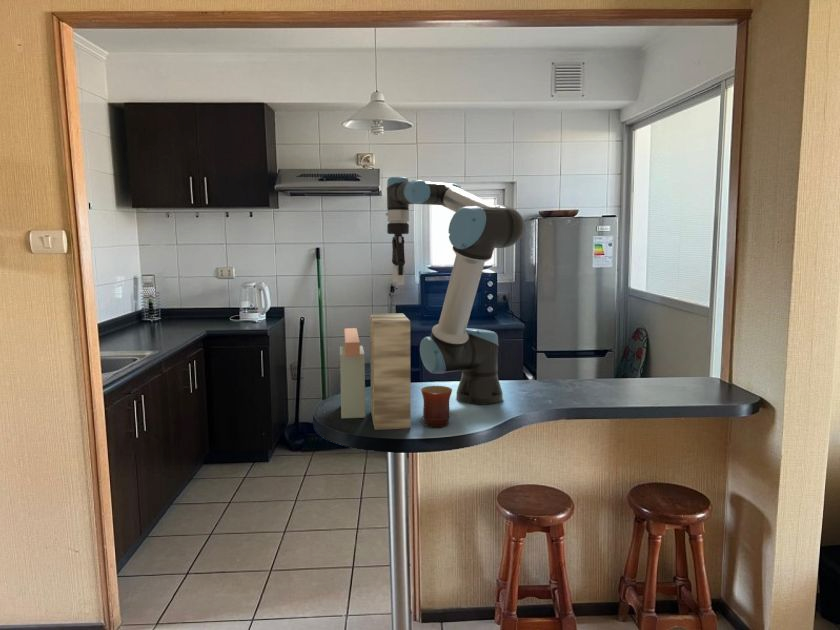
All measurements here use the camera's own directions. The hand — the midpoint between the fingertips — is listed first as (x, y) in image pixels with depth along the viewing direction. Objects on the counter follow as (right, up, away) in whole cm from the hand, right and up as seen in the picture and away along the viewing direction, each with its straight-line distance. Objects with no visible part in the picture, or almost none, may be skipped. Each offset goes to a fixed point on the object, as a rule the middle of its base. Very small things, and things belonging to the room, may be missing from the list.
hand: (398, 283), depth 212 cm
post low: (-13, -41, -29) cm, 51 cm away
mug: (+12, -42, -41) cm, 60 cm away
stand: (-1, -42, -37) cm, 56 cm away
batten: (-13, -21, -27) cm, 37 cm away
